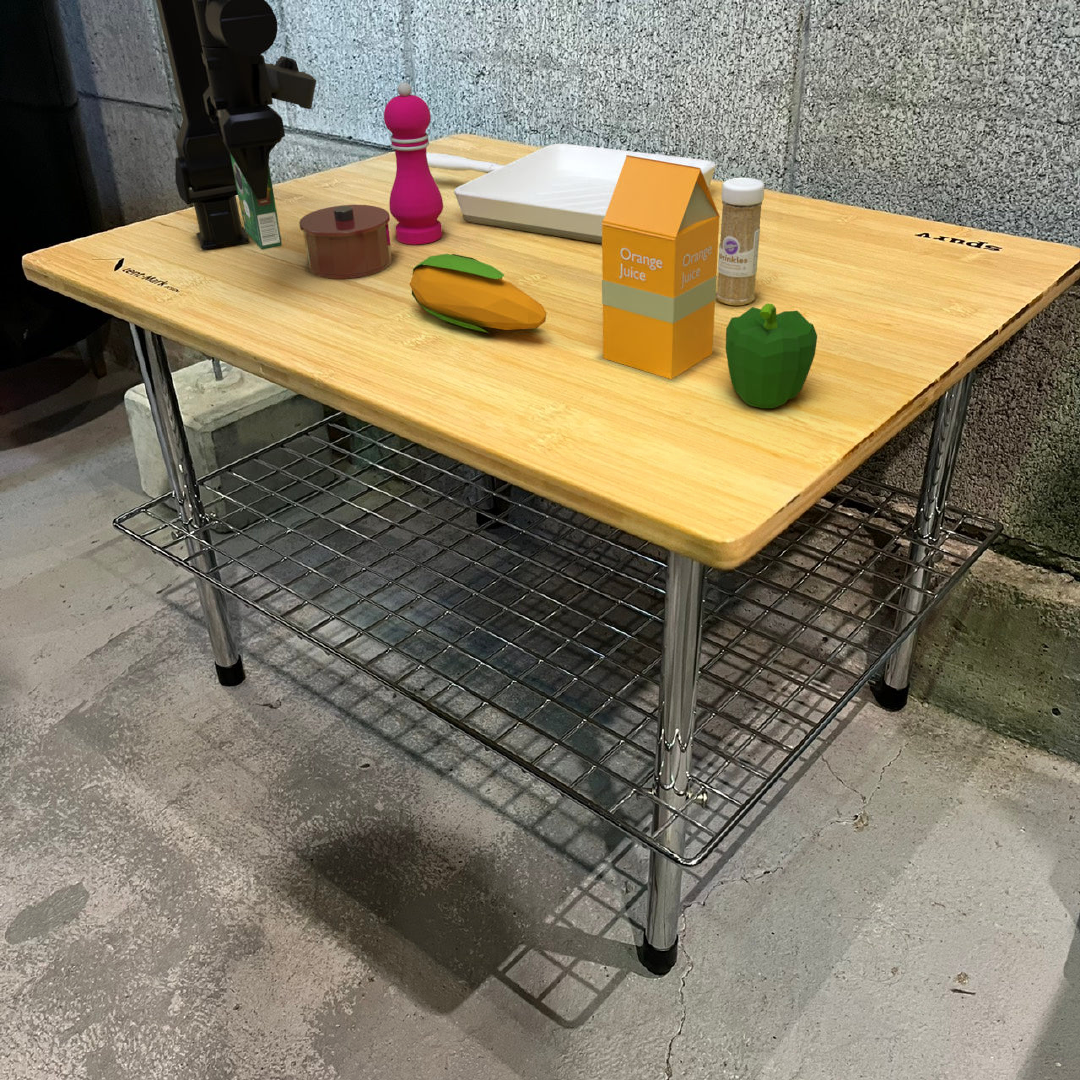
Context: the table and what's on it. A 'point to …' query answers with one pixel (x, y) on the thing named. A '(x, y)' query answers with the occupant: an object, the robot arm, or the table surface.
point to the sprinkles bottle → (739, 240)
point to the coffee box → (258, 212)
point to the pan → (548, 188)
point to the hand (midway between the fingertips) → (256, 189)
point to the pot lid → (344, 220)
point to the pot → (349, 254)
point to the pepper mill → (412, 170)
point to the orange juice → (659, 268)
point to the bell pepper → (769, 355)
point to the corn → (473, 294)
